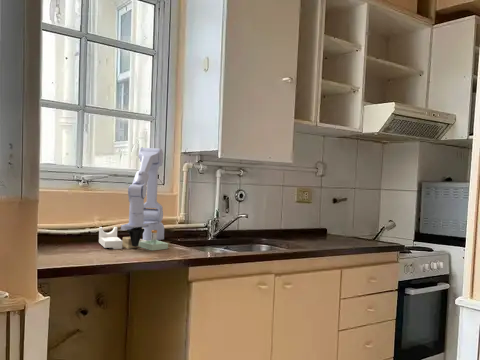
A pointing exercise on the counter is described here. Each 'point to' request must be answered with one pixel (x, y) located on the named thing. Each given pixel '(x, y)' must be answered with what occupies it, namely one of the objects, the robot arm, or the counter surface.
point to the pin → (153, 236)
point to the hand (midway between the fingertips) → (135, 246)
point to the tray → (153, 245)
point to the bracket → (110, 239)
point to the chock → (127, 243)
